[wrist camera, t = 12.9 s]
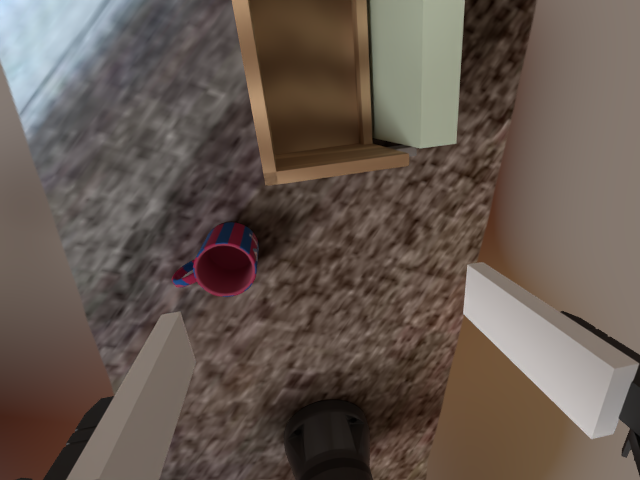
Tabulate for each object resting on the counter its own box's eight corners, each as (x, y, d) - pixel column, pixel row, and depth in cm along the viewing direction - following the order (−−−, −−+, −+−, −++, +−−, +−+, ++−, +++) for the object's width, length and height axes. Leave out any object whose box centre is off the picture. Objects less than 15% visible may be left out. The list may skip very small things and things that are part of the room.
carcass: (406, 152, 38) (466, 169, 26) (269, 171, 37) (268, 198, 25) (405, -53, 31) (491, -160, 19) (232, -40, 29) (204, -148, 17)
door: (402, 132, 37) (470, 141, 25) (369, 137, 37) (420, 148, 24) (401, -20, 32) (490, -113, 19) (362, -17, 31) (424, -109, 18)
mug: (264, 262, 41) (263, 289, 35) (190, 279, 41) (175, 309, 34) (251, 216, 39) (247, 236, 32) (171, 234, 38) (152, 257, 32)
